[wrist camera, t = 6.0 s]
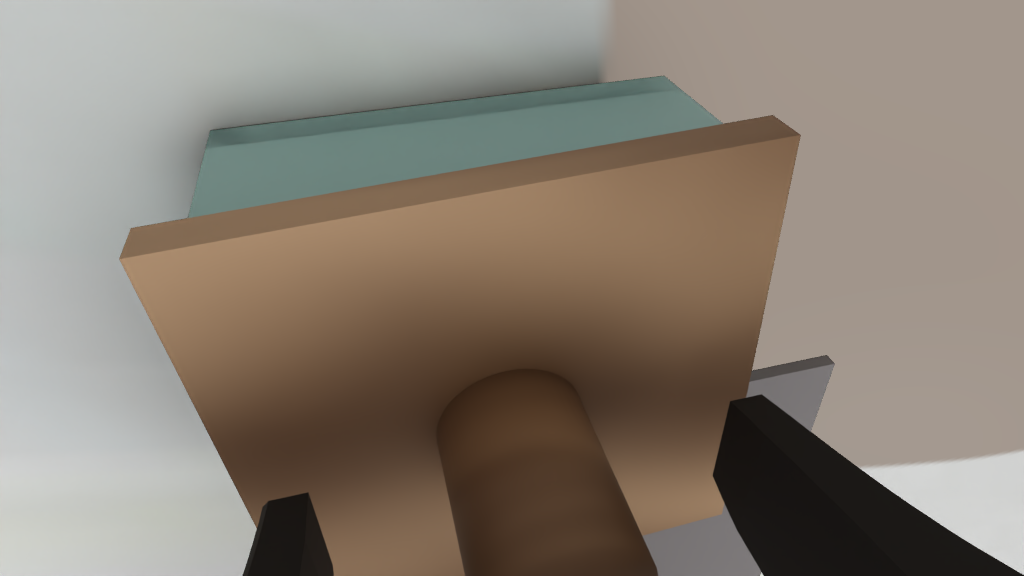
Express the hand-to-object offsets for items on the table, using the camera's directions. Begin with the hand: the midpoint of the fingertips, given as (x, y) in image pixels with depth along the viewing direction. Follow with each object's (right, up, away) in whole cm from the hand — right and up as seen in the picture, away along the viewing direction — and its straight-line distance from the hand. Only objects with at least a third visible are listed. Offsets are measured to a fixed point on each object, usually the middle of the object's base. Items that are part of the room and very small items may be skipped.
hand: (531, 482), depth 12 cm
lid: (-1, +1, +2) cm, 2 cm away
